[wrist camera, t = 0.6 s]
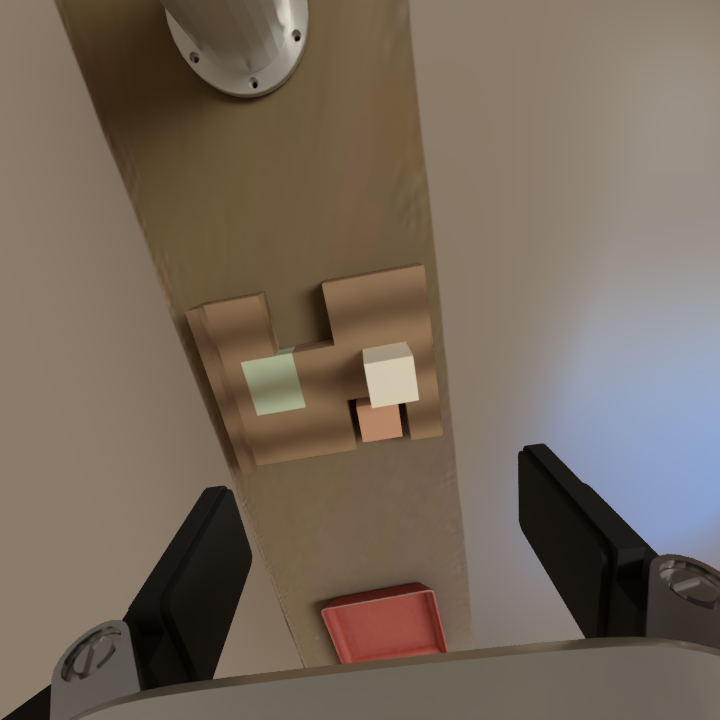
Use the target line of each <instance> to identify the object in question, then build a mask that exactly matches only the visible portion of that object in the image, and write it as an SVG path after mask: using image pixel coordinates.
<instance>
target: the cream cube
mask: <svg viewBox="0 0 720 720" xmlns="http://www.w3.org/2000/svg"><path fill="white" fill-rule="evenodd" d="M362 350H363V361H364V368H365V373H366V379H367V384H368V389H369V395H370V400H371V405H372V408H377V407H382V406H388V405H394V404H400V403H406V402H412V401H418V400H419V395H418V388H417V381H416V373H415V366H414V358H413V354H412V353H411V351H410V349H409V347H408V345H407V343H406V342H400V343H395V344H389V345H384V346H378V347H372V348H367V349H362Z"/></svg>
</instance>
